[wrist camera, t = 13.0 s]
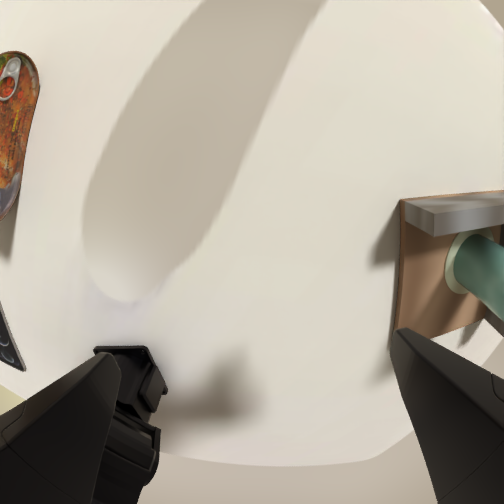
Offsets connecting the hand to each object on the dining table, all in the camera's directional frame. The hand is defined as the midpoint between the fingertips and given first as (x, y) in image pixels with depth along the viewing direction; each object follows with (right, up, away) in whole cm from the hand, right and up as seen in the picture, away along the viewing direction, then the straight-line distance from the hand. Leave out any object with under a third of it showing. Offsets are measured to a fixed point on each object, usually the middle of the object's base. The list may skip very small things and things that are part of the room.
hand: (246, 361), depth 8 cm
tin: (-21, +14, +9) cm, 27 cm away
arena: (+19, +2, +13) cm, 23 cm away
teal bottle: (+20, +2, +12) cm, 23 cm away
